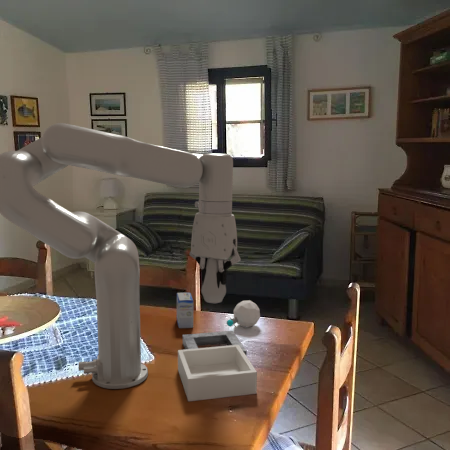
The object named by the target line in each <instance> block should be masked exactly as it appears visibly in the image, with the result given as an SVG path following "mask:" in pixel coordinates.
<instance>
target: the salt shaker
mask: <svg viewBox="0 0 450 450" xmlns="http://www.w3.org/2000/svg"><path fill="white" fill-rule="evenodd" d="M218 271H219V265H218V259H212V258H207V263H206V274H205V279H204V283H203V282H202V286H201V290H200V291H201V294H202V297H203V299H204V301H205V302H206V303H209V304H218V303H222V302H223V299H224V297H225V296H226V294H227V286H226V284H225V285H222V284H221V281H220V285H219V288H218V286H217V276H216V273H217V272H218Z"/></svg>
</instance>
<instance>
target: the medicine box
mask: <svg viewBox="0 0 450 450" xmlns="http://www.w3.org/2000/svg"><path fill="white" fill-rule="evenodd" d="M194 305H195V304H194V299H193V295H192V293H191V292H177V293H176V322H177V326H178V328H179V329H192V328H194Z"/></svg>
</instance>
